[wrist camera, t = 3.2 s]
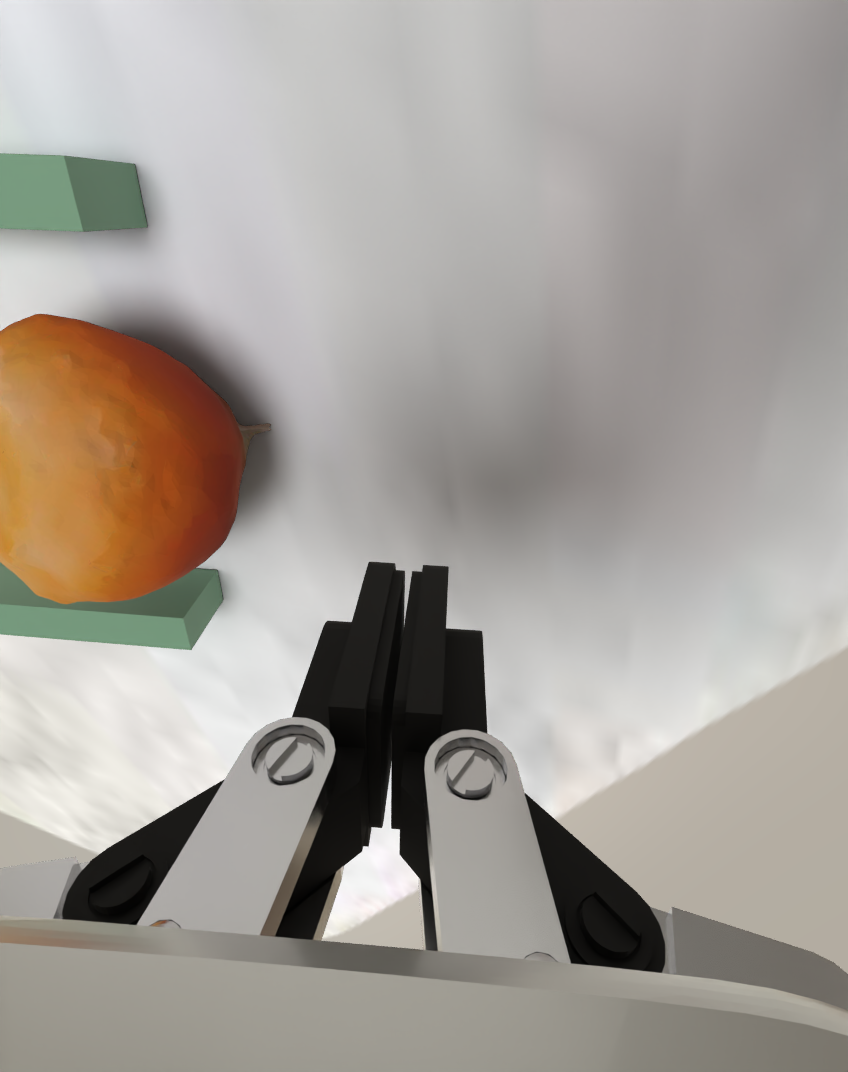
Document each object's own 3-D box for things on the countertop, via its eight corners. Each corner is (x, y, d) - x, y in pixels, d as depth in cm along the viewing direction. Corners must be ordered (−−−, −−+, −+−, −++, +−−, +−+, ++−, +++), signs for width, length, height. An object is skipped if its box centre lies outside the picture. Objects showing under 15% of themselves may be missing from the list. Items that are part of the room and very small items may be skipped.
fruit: (271, 599, 21) (36, 698, 14) (151, 475, 23) (-99, 511, 16) (352, 416, 17) (75, 438, 10) (196, 288, 19) (-110, 239, 12)
